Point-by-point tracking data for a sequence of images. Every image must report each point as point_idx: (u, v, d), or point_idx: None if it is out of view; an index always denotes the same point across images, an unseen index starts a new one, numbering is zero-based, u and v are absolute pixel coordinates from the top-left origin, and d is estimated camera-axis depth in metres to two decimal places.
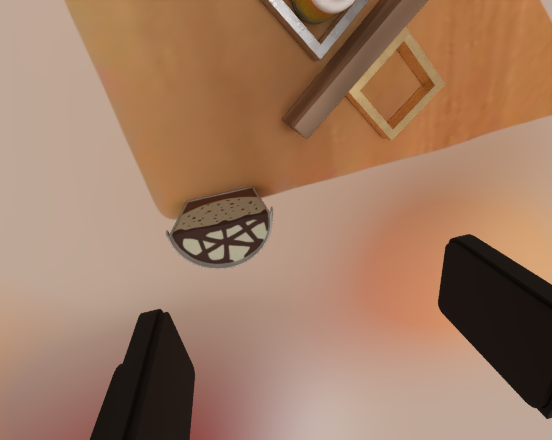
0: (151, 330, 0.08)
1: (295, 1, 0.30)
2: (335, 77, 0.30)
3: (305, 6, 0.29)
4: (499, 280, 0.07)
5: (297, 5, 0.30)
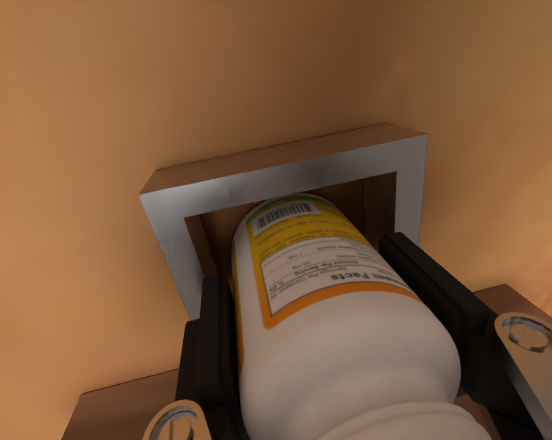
0: (217, 290, 0.09)
1: (234, 259, 0.11)
2: None
3: None
4: (412, 273, 0.08)
5: (232, 266, 0.11)
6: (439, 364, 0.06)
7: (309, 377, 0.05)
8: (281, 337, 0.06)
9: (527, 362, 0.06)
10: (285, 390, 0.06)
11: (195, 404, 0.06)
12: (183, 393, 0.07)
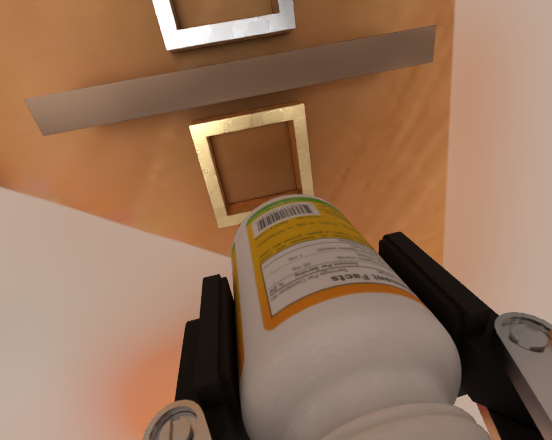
0: (217, 290, 0.09)
1: (234, 261, 0.11)
2: None
3: None
4: (412, 273, 0.08)
5: (232, 267, 0.11)
6: (440, 365, 0.06)
7: (309, 378, 0.05)
8: (281, 338, 0.06)
9: (527, 362, 0.06)
10: (285, 392, 0.06)
11: (195, 404, 0.06)
12: (183, 393, 0.07)
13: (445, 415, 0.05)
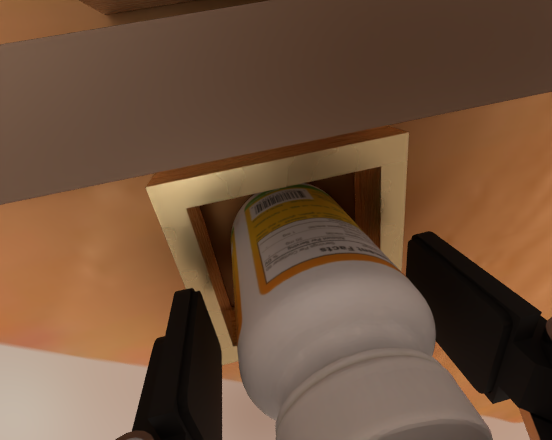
0: (188, 305, 0.08)
1: (233, 243, 0.11)
2: None
3: None
4: (449, 274, 0.08)
5: (232, 249, 0.12)
6: (414, 323, 0.07)
7: (298, 331, 0.06)
8: (274, 299, 0.07)
9: None
10: (277, 343, 0.06)
11: (149, 436, 0.06)
12: (142, 420, 0.06)
13: (413, 356, 0.06)
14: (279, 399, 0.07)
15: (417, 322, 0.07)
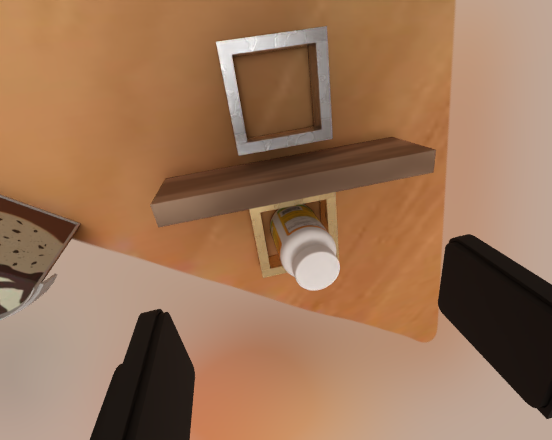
0: (151, 330, 0.08)
1: (273, 225, 0.31)
2: (232, 187, 0.23)
3: (275, 243, 0.29)
4: (499, 280, 0.07)
5: (272, 228, 0.31)
6: (327, 242, 0.26)
7: (297, 242, 0.26)
8: (291, 235, 0.26)
9: None
10: (292, 245, 0.26)
11: None
12: None
13: (323, 245, 0.25)
14: (292, 261, 0.26)
15: (328, 242, 0.26)
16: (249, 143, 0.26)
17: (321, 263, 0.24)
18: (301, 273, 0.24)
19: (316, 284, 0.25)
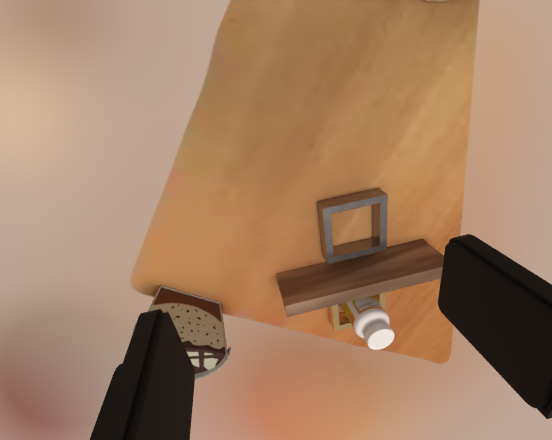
0: (151, 330, 0.08)
1: None
2: (331, 293, 0.39)
3: (347, 313, 0.45)
4: (499, 280, 0.07)
5: None
6: (384, 318, 0.42)
7: (367, 319, 0.41)
8: (362, 314, 0.42)
9: None
10: (363, 321, 0.41)
11: None
12: None
13: (383, 323, 0.40)
14: (363, 330, 0.41)
15: (385, 318, 0.42)
16: (335, 257, 0.41)
17: (383, 335, 0.40)
18: (371, 341, 0.40)
19: (379, 346, 0.41)
